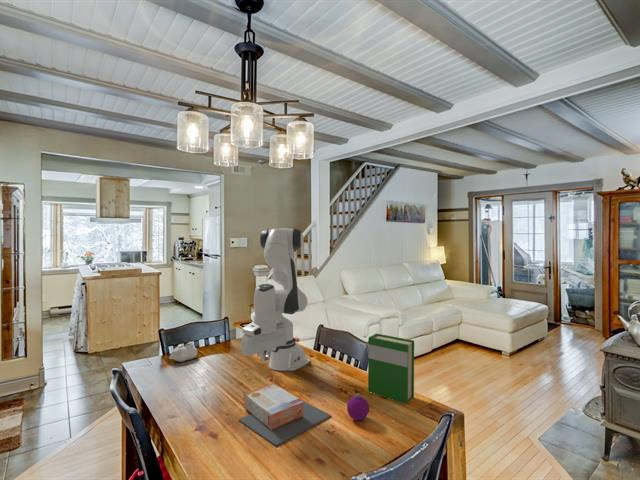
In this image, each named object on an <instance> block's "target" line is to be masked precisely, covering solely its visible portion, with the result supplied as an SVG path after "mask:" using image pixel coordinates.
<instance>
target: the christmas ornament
mask: <svg viewBox="0 0 640 480" xmlns="http://www.w3.org/2000/svg"><path fill="white" fill-rule="evenodd" d="M346 412H347V414H348V415H349V418H351V419H353V420H354V421H362V420H364V419H366V417H368V416H369V412H370V405H369V402H368V400H367V399H366V398H364V397H363V396H361V394H360V393H356V394H355V395H354V396H353V397H350V399H348V401H347V405H346Z"/></svg>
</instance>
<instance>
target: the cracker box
mask: <svg viewBox="0 0 640 480" xmlns="http://www.w3.org/2000/svg"><path fill="white" fill-rule="evenodd" d="M301 400H302V399H300V398H298V397H296V396H295V395H293V394H291V393H290V392H288V391H286V390H285V389H283V388H282V387H280V386H279V385H277V384H275V383H272V384H269V385H265V386H262V387H260V388H256V389H254V390H250V391H248V392H244V393H243V408H245V410H247V411H248V412H249V413H250V414H253V415H254V416H255V417H256V418H258V419H259V420H260V421H261V422H262V423H264V424H265V425H266V426H267V427H268V428H270V429H271V430H273V429H275V428H277V427H280V426H282V425H284V424H287V423H289V422H291V421H293V420H296V419H298V418H301V417H303V401H304V400H302V401H301Z"/></svg>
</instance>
